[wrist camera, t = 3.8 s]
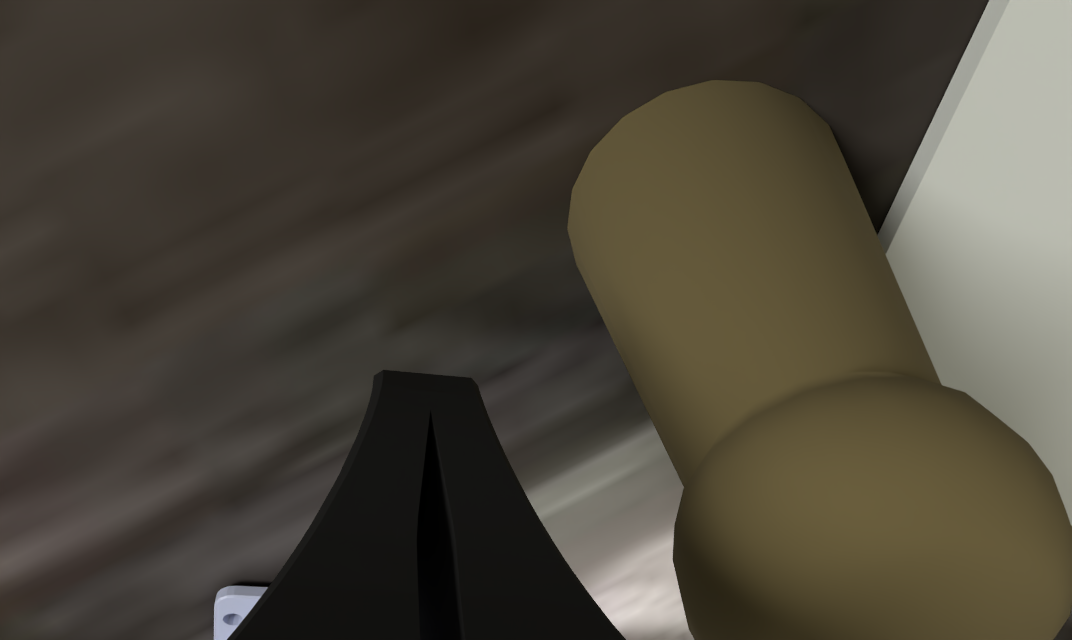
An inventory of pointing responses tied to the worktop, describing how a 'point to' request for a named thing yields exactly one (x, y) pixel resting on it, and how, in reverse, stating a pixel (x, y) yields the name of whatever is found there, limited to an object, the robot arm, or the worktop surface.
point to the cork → (803, 391)
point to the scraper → (999, 228)
